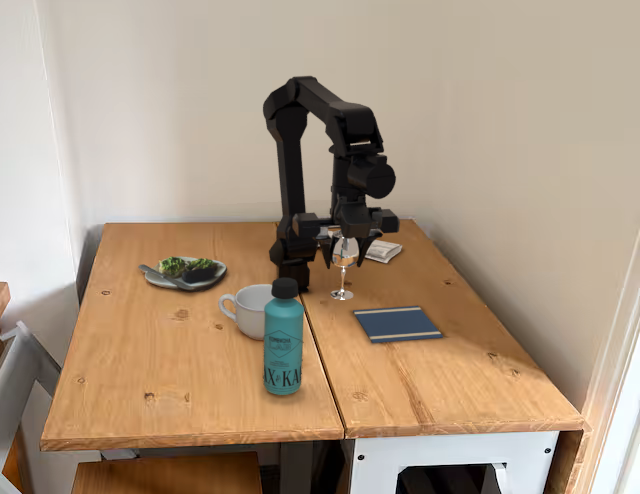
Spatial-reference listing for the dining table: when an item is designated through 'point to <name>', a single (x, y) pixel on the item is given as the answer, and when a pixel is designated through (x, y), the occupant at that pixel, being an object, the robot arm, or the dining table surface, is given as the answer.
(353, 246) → the wineglass
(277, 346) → the beverage bottle
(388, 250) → the newspaper
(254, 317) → the teacup
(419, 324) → the napkin
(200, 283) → the salad plate
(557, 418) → the dining table surface
